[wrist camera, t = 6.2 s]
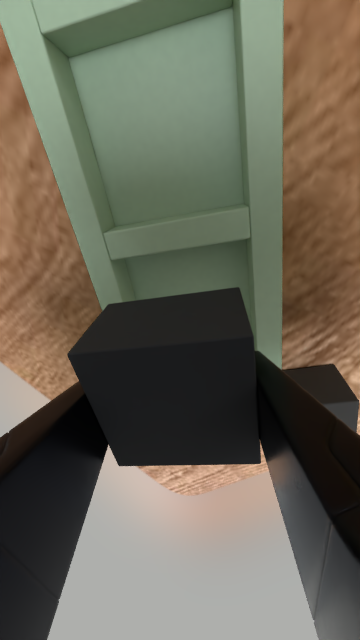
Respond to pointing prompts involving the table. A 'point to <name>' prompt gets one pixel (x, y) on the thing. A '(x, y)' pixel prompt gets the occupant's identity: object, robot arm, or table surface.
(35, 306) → the table surface
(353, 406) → the black block
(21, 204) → the table surface
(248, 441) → the pad
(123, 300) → the green divided tray
